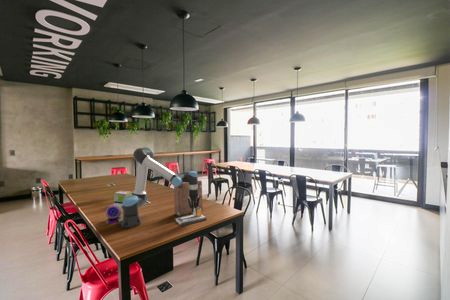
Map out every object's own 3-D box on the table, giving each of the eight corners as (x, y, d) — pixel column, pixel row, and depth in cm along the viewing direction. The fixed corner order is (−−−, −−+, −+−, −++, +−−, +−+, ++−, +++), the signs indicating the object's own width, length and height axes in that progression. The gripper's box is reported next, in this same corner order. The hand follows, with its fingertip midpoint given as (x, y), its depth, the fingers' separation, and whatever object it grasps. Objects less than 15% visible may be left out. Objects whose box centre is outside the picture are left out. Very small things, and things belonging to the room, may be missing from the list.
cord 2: (180, 225, 177) (180, 223, 177) (205, 219, 189) (205, 217, 189) (181, 226, 175) (181, 224, 175) (206, 219, 188) (206, 218, 188)
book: (197, 208, 220) (196, 179, 219) (202, 210, 213) (201, 180, 212) (174, 214, 204) (173, 182, 202) (179, 216, 197) (178, 184, 195)
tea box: (114, 206, 231) (113, 192, 230) (121, 203, 241) (120, 190, 240) (125, 207, 227) (125, 193, 226) (132, 204, 236) (131, 191, 235)
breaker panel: (175, 220, 187) (175, 218, 187) (199, 215, 199) (199, 213, 199) (180, 225, 178) (180, 222, 178) (205, 219, 190) (205, 216, 190)
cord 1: (174, 219, 190) (174, 217, 190) (197, 214, 203) (197, 212, 202) (174, 220, 189) (174, 218, 189) (198, 214, 201) (198, 213, 201)
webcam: (104, 224, 182) (103, 206, 181) (108, 219, 194) (107, 202, 193) (121, 222, 185) (120, 205, 185) (123, 217, 198) (123, 201, 197)
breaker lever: (195, 215, 193) (195, 207, 193) (199, 214, 195) (199, 207, 195) (197, 216, 190) (197, 209, 189) (201, 215, 192) (201, 208, 192)
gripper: (188, 190, 182) (188, 218, 183) (201, 188, 189) (202, 214, 190) (184, 189, 188) (185, 215, 190) (198, 187, 196) (198, 212, 197)
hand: (194, 215), depth 190 cm, fingers closed
